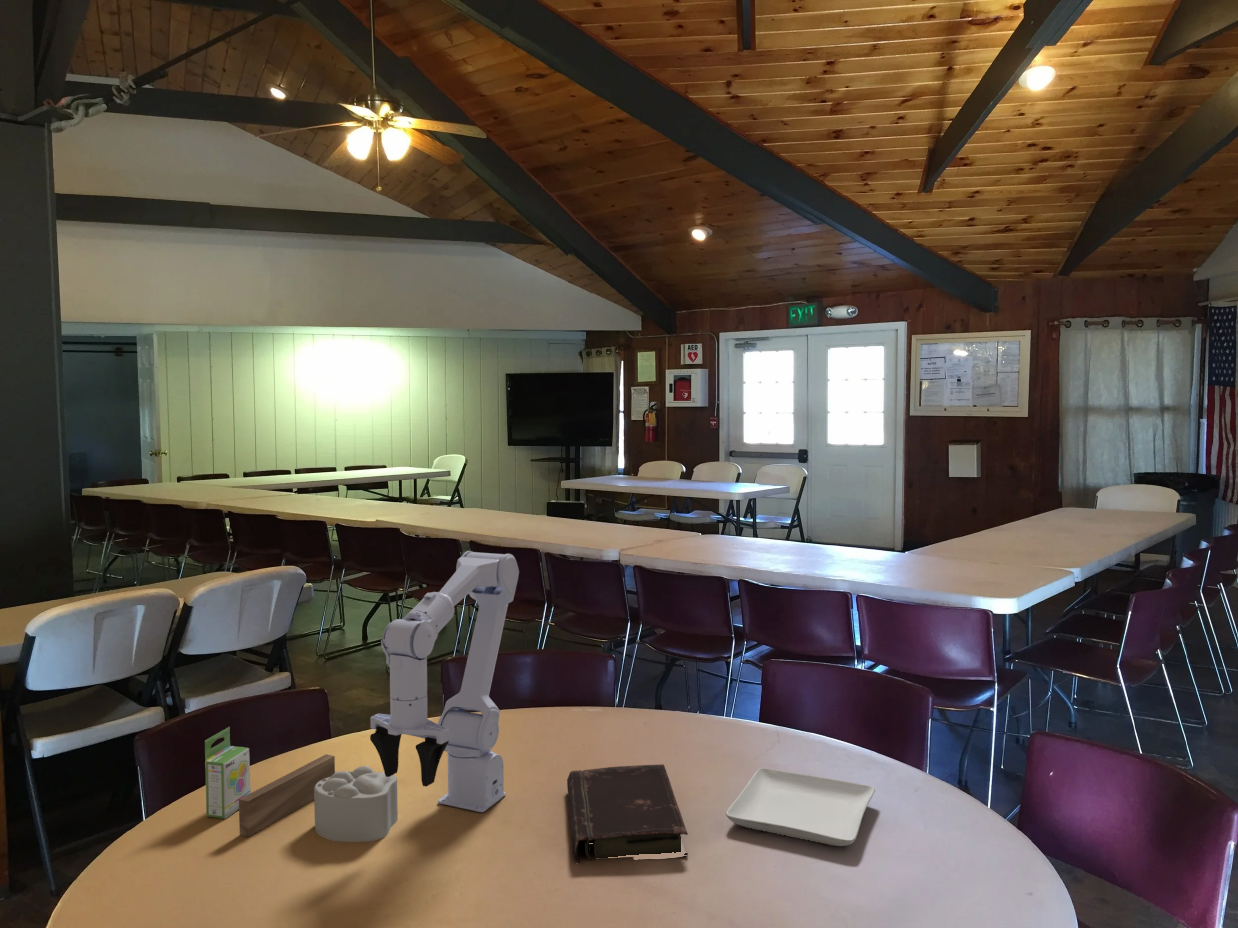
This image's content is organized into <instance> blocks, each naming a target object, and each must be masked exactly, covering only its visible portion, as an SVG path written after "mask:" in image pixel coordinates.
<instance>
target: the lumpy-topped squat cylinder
mask: <svg viewBox="0 0 1238 928" xmlns="http://www.w3.org/2000/svg"><path fill="white" fill-rule="evenodd" d="M313 801H314V830H315V832H316V834H317V835H319V836H320V837H322V838H324V839H327V840H329V841H331V842H332V841H334V842H346V843H360V842H361V843H363V842H364V843H365V842H374V841H378V840H382V839H383V838H385V837H387V836H388V835H389V833H390V831H391V828H392V827H393V826H394V825H395V824H396V823H397V821H398V818H399V815H398V814H399V811H398V810H399V808H398V778H397V776H396V775H395V774H394V775H392V776H390V777H386V776H385V772H384V771H374V770H373V769H372V767H370V766H367V765H361V766H358V767H356V768H354V770H352V771H349V770H348V771H347V770H340V771H339V770H338V771H335V773H334V774H333V775H332V776H331V777H328V778H324V779H323V780H321V781H319V782H318V783H317V784H316V785H315V787H314V800H313Z"/></svg>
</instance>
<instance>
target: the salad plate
mask: <svg viewBox="0 0 1238 928" xmlns="http://www.w3.org/2000/svg"><path fill="white" fill-rule="evenodd" d="M875 791H876V787H875V786H872V785H868V784H861V783H856V782H850V781H844V780H839V779H832V778H828V777H827V778H826V777H820V776H816V775H810V774H804V773H796V772H792V771H791V772H790V771H785V770H777V769H773V768H765V767H760V768H758V769H757V770H756V772H755V773H754V774H753V775H752V776H751V778H750V779H749V781H748V782H747V784H746V785H745V787H744V788H743V789H742V790H741V792H740V793H739V795H738V796H737V797H736V798H735V799H734V801H733V802H732V804H731V805H730V806H729V807H728V808H727V810H726V812H725V815H726V817H727V819H729V821H731V822H732V823H734V824H736V825H738V826H740V827H745V828H748V829H751V828H752V829H751V830H757V831H761V830H762V832H766V831H767V833H771V832H772V833H771V834H775V833H777V834H776V835H780V834H781V835H780V836H784V835H786V836H785V837H789V836H790V838H794V837H795V838H794V839H798V838H800V839H799V840H803V839H805V840H804V841H808V840H810V841H809V842H813V841H815V842H814V843H818V842H820V844H825V845H829V846H836V847H845V846H850V845H852V844H853V843H854V842H855V841H856V839H857V838H858V837H857V836H858V834H859V831H860V827H861V824H862V820H863V818H864V814H865V812H866V809H868V805H869V803H870V801H871V799H872V798H873V796H874V794H875Z"/></svg>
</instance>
